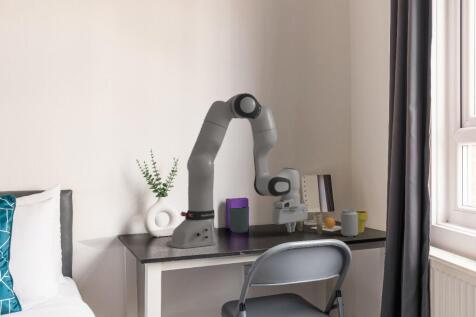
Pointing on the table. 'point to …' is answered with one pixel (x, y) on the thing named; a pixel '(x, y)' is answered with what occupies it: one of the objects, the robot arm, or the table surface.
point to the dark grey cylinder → (239, 219)
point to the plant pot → (361, 220)
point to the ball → (329, 222)
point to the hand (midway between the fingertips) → (290, 231)
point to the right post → (319, 223)
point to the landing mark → (329, 228)
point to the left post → (300, 225)
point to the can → (349, 223)
